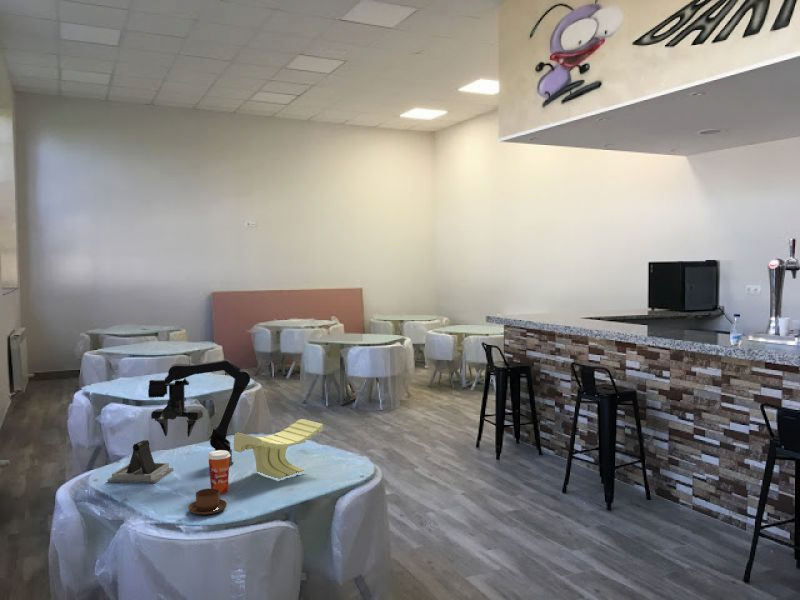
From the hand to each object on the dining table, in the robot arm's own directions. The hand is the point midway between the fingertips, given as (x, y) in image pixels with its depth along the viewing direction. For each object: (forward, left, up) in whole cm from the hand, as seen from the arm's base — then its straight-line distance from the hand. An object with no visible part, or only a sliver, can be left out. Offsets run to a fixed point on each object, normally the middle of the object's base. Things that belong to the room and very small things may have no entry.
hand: (177, 436), depth 262 cm
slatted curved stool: (-41, +1, -13) cm, 43 cm away
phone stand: (+10, +10, -12) cm, 18 cm away
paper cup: (-26, +24, -13) cm, 38 cm away
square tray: (+10, +10, -13) cm, 19 cm away
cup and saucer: (-29, +42, -13) cm, 52 cm away
